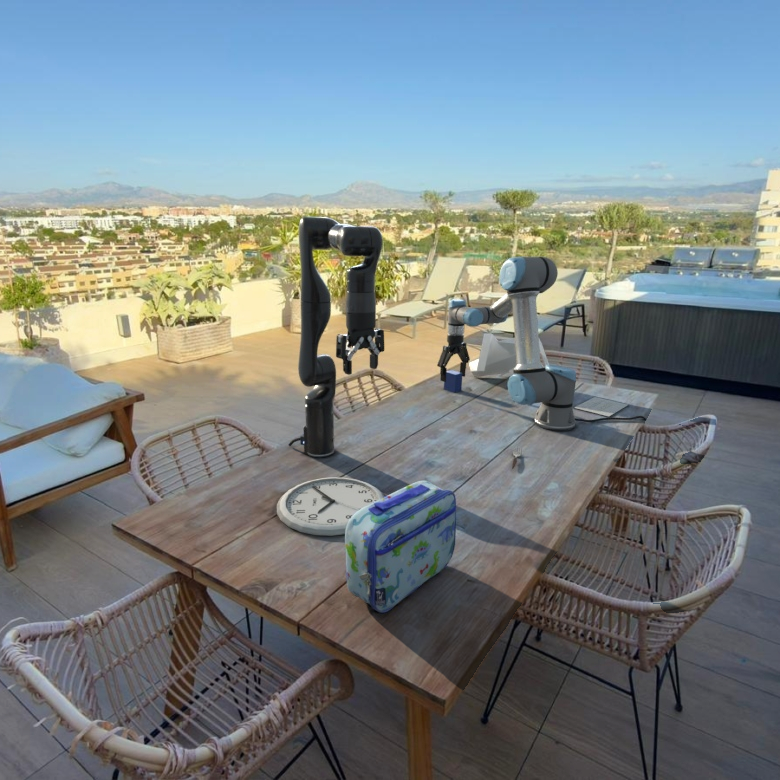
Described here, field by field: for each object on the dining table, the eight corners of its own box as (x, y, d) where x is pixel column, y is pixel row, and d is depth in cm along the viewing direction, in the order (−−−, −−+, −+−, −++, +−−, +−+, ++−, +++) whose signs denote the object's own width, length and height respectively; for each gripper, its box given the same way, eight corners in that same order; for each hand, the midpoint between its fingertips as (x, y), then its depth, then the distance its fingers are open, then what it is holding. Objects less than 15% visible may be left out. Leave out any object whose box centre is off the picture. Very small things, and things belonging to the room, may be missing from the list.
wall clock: (392, 527, 129) (268, 531, 127) (391, 533, 130) (269, 537, 127) (383, 473, 158) (282, 475, 155) (383, 478, 158) (282, 480, 156)
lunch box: (374, 626, 100) (375, 530, 93) (338, 598, 107) (337, 508, 101) (459, 568, 117) (465, 484, 111) (424, 547, 124) (427, 467, 118)
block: (450, 387, 250) (451, 369, 248) (461, 390, 245) (462, 373, 243) (443, 389, 247) (444, 371, 245) (454, 392, 242) (455, 374, 240)
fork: (508, 469, 165) (508, 463, 165) (514, 450, 180) (515, 445, 179) (516, 471, 165) (516, 465, 164) (522, 451, 179) (522, 446, 178)
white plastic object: (489, 418, 267) (470, 395, 242) (471, 346, 289) (451, 318, 264) (561, 394, 254) (547, 368, 230) (535, 321, 277) (521, 289, 252)
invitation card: (608, 416, 214) (573, 407, 224) (608, 416, 214) (573, 408, 224) (628, 404, 229) (594, 396, 238) (628, 405, 229) (594, 397, 238)
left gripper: (372, 305, 139) (372, 364, 144) (329, 309, 130) (330, 372, 135) (391, 308, 134) (390, 369, 139) (347, 313, 125) (348, 379, 129)
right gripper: (466, 329, 249) (463, 372, 256) (430, 335, 233) (428, 381, 239) (479, 331, 244) (476, 375, 250) (443, 338, 228) (440, 385, 234)
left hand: (360, 371), depth 137 cm, fingers open, 8 cm apart
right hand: (452, 378), depth 245 cm, fingers open, 13 cm apart
